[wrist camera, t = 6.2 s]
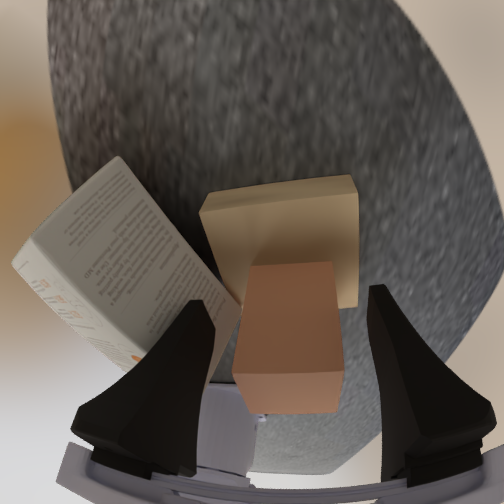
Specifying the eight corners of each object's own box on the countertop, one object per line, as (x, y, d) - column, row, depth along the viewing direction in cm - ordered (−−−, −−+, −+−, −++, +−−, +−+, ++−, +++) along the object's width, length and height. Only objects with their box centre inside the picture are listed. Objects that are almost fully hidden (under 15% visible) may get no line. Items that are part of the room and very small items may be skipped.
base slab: (352, 282, 17) (357, 306, 16) (240, 292, 19) (236, 316, 17) (350, 174, 13) (358, 192, 12) (208, 192, 15) (198, 212, 13)
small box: (65, 202, 16) (162, 310, 21) (7, 263, 13) (125, 373, 18) (123, 150, 11) (247, 309, 17) (28, 237, 8) (205, 398, 13)
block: (331, 315, 16) (336, 412, 12) (261, 318, 17) (250, 413, 13) (332, 260, 14) (344, 370, 9) (250, 266, 15) (231, 373, 10)
